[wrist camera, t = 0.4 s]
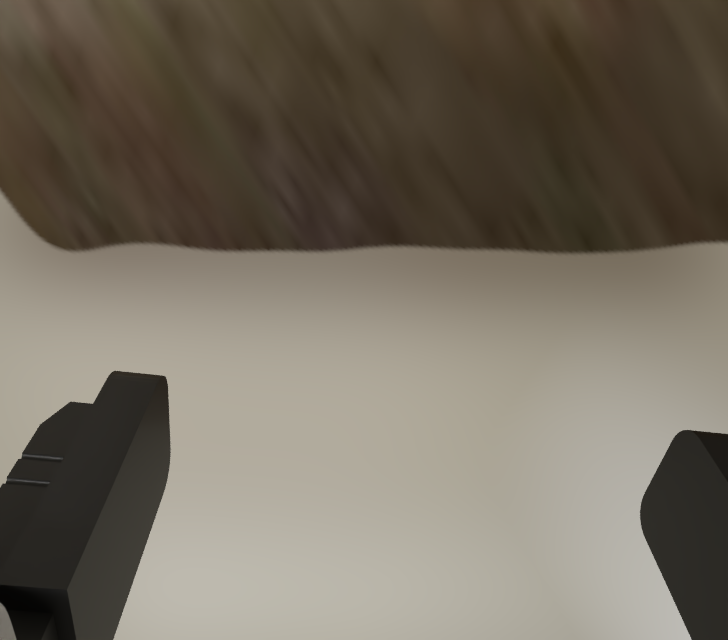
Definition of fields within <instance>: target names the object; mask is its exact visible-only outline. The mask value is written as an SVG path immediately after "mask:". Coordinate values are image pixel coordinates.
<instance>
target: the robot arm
mask: <svg viewBox="0 0 728 640" xmlns="http://www.w3.org/2000/svg"><path fill="white" fill-rule="evenodd" d="M169 465H170V428H169V402H168V384H167V379H166V377H165V376H160V375H150V374H140V373H131V372H121V371H114V372H112V373H111V374H110V375H109V377H108V378H107V380H106V382H105V383H104V385H103V387H102V389H101V391H100V393H99V394H98V396H97V398H96V400H95V402H94V403H93V404H88V403H78V402H70V403H68V404H67V405H66V406H64V407H63V408H62V409H60V410H59V411H58V412H57V413H55V414H54V415H52V416H51V417H50V418H48V419H47V420H46V421H44V422H43V423H42V424H41V425H40V426H39V428H38V429H37V431H36V432H35V434H34V436H33V437H32V439H31V440H30V442H29V443H28V445H27V446H26V448H25V450H24V451H23V453H22V458H21V459H18V461H17V462H16V464H15V466H14V467H13V469H12V470H11V472H10V473H9V475H8V476H7V481H6V484H2V486H1V488H0V640H113V638H114V635H115V633H116V630H117V627H118V624H119V621H120V618H121V615H122V612H123V609H124V606H125V603H126V601H127V598H128V595H129V592H130V589H131V586H132V583H133V580H134V577H135V574H136V571H137V569H138V565H139V563H140V559H141V557H142V554H143V551H144V548H145V545H146V542H147V540H148V537H149V534H150V531H151V528H152V525H153V522H154V519H155V516H156V513H157V511H158V508H159V505H160V502H161V499H162V496H163V493H164V490H165V486H166V482H167V477H168V472H169ZM640 519H641V525H642V530H643V534H644V536H645V539H646V541H647V543H648V545H649V547H650V549H651V552H652V554H653V556H654V558H655V560H656V562H657V565H658V567H659V569H660V571H661V573H662V576H663V578H664V580H665V582H666V584H667V586H668V589H669V591H670V593H671V595H672V597H673V600H674V602H675V604H676V606H677V608H678V610H679V613H680V615H681V617H682V619H683V621H684V623H685V626H686V628H687V630H688V632H689V634H690V637H691V639H692V640H728V434H721V433H711V432H701V431H691V430H683V431H681V432H679V433H678V434H677V435H676V436H675V437H674V439H673V440H672V442H671V444H670V446H669V448H668V450H667V452H666V454H665V456H664V458H663V459H662V462H661V463H660V465H659V467H658V469H657V471H656V473H655V475H654V477H653V478H652V480H651V483H650V484H649V486H648V488H647V490H646V492H645V494H644V496H643V499H642V503H641V510H640Z"/></svg>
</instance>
